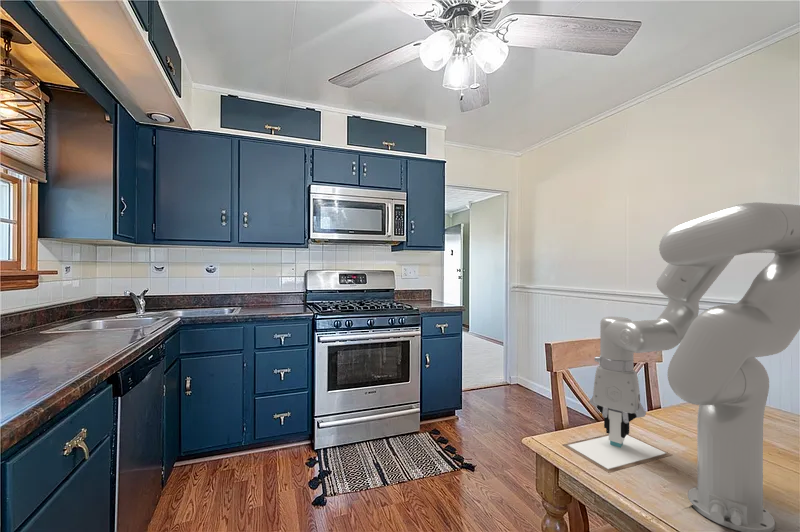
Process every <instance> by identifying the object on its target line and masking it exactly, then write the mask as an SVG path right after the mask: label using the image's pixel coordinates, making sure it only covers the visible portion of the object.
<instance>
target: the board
mask: <svg viewBox="0 0 800 532" xmlns="http://www.w3.org/2000/svg"><path fill="white" fill-rule="evenodd" d="M628 435H629V436H631V437H633V438H635V439H637V440H639V441H641V442H644V443H646V444H648V445H650V446H652V447H654V448H657V449H659V450H661V451H663V452H665V453H666V454H663V455H660V456H656V457H652V458H649V459H645V460H642V461H638V462H634V463H631V464H627V465H623V466H620V467H616V468H612V469H609V470H608V469H606V468H604V467H603V466H601V465H599V464H598V463H596V462H594V461H593V460H591V459H589V458H587V457H586V456H584V455H582V454H581V453H579V452H577V451H576V450H574V449H572V448H571V447H569V446H568V445H570V444H574V443H579V442H583V441H587V440H592V439H596V438H601V437H605V436H609V434H608V433H606V434H603V435H599V436H595V437H590V438H586V439H581V440H577V441H572V442H568V443H564V444H562V446H563V447H564V448H566V449H568V450H569V451H571V452H573V453H575V455H578V456H579V457H581V458H583V459H584V460H586V461H588V462H590V463H591V464H593V465H594V466H596V467H598V468H600V469H601V470H603V471H604V472H607V473H608V474H610V473H614V472H617V471H621V470H625V469H629V468H632V467H636V466H639V465H642V464H647V463H649V462H653V461H656V460H660V459H664V458H668V457H672V456H673V454H672V453H670V452H668V451H665V450H664V449H661V448H659V447H657V446H655V445H652V444H650V443H648V442H646V441H645V440H641V439H640V438H637V437H635V436H632V435H631V434H630V433H629V434H628Z"/></svg>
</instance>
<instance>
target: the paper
mask: <svg viewBox="0 0 800 532" xmlns="http://www.w3.org/2000/svg"><path fill="white" fill-rule="evenodd" d="M629 435H630V434H629ZM629 435H626V436H625V440H624V441H623V445H622V446H621V448H620V447H616V446H613V445H610V440H609V436H605V437H601V438H596V439H592V440H587V441H583V442H579V443H574V444H570V445H568V446H569V447H571V448H572V449H574V450H576V451H577V452H579V453H581V454H582V455H584V456H586V457H587V458H589V459H591V460H593V461H594V462H596V463H598V464H599V465H601V466H603V467H604V468H606V469H608V470H609V469H612V468H616V467H620V466H623V465H627V464H631V463H634V462H638V461H642V460H645V459H649V458H652V457H656V456H660V455H663V454H666V453H665V452H663V451H664V450H663V451H661V450H662V449H661V450H659V449H660V448H659V449H657V448H658V447H657V448H654V447H652V446H650V445H651V444H650V445H648V444H649V443H648V444H646V443H647V442H646V443H644V442H645V441H644V442H641V441H639V440H637V439H638V438H637V439H635V438H636V437H635V438H633V437H634V436H633V437H631V436H632V435H631V436H629Z"/></svg>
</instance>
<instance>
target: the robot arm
mask: <svg viewBox="0 0 800 532" xmlns="http://www.w3.org/2000/svg"><path fill="white" fill-rule="evenodd" d="M658 247H659V248H658V251H659V254H660V256H661V258H662V260H663V261H665V262H666V263H667V266H666V267H665V268H664V270H663V271H662V273H661V274H660V275H659V277H658V278H657V280H656V287H657V290H659V292H660V293H661V294H662V295H664V296H665V297H666V298H667V299H668V303H667V304H666V307H665V308H664V310H663V311H662V313H660V315H659V316H658V317H657V318H656V319H647V320H635V321H633V320H632V319H630V318H626V317H622V316H605V317H603V318H601V320H600V323H599V324H600V328H599V330H600V334H599V335H600V343H599V344H600V347H599V349H600V355H599V356H594V362H597V363H598V364H599V366H598V365H597V367H596V370H595V376H594V383H593V393H592V394H593V395H592V397H591V398H590V400H589V404H590V405H592V406H593V407H595V408H596V409H597V410H598V412H600V414H601V415H602V417H603V427H604V429H605V434H609V433H610V419H609V408H610V409H614V410H618V411H622V412H623V419H622V423H621V437H622V438H625V436H626V435H628V434H629V435H630V422H631V421H633V420H635V419H637V418H644V417H645V416H646V415H647V413H646V411H645V409H644V406H643V404H642V403H641V393H640V384H639V378H638V374H637V371H636V370H634V368H635V367H634V359H635V357H634V353H635V354H643V353H652V352H662V351H663V352H664V351H669V350H672V349H674V348H676V347H677V348H676V350H675V352H674V354H673V355H672V357H671V359H670V361H669V364H668V367H667V381H668V385H669V386H670V388H671V390H672V391H673V393H674V394H675V395H676V396H677V397H679V399H681V400H683V401H684V402H687V403H689V404H691V405H697V406H698V410H697V429H696V430H697V439H696V441H697V442H696V443H697V448H696V450H697V454H696V455H697V467H696V469H697V486H695V487H692V488H690V489H689V490H688V491H687V498H688V500H689V502H690V503H691V507H692V508H693V509H695V511H697V513H699V514H700V515H702V516H704V517H706V518H707V519H709V520H710V521H712V522H715V524H718V525H721V526H723V527H726V528H727V529H730V530H735V531H737V532H773V531H774V530H775V529H776V521H775V519H774V517H773V515H772V514H771V513H770V512H769V511H768V510H767V509H765V508H764V459H763V458H764V420H765V419H764V418H765V409H766V405H767V401H768V396H769V391H770V378H769V374H768V371H767V369H766V368H765V366H764V365H763V363H761V361H759V360H758V358H761V357H767V356H773V355H778V354H779V353H782V352H784V351H785V350H786V349H787V348H788V347H789V345H791V343H792V341H793V340H794V339H795V337H796V335H797V334H798V333H799V331H800V205H799V204H794V203H793V204H792V203H791V204H790V203H789V204H788V203H774V202H772V203H771V202H747V203H746V202H745V203H741V204H736V205H732V206H729V207H727V208H724V209H720V210H716V211H714V212H712V213H708V214H705V215H702V216H700V217H697V218H694V219H690V220H687V221H685V222H682V223H679V224H677V225H675V226H673V227H671V228H670V229H669V230H668V231H666V232H665V233H664V234H663V236H662V238H661V240H660V241H659V245H658ZM757 253H758V254H774V257H773V259H772V260H771V261H770V262H769V263H768V264H767V265H766V266H764V267H763V268H762V270H761V271H759V272H758V274H757V275H756V276H755V277H754V278H753V281H752V282H751V284H750V286H749V288H748V289H747V291H746V292H745V293H744V294H743V296H742V298H740V300H739V301H738V302H736V303H733V304H721V305H720V304H719V305H716V306H711V307H710V308H708V309H705V310H704V311H702V312H701V313H700V314H699V311H700V306H699V305H700V304H699V302H700V300H701V299H702V298H703V296H705V294H706V293H707V291H708V290H709V289H710V288H711V286H712V285H713V283H714V282H716V281H717V279H718V277H720V275H721V273H722V272H724V270H725V269H726V268H727V266H729V264H730V262H731V261H732V260H733V259H734V257H735V256H739V255H744V254H745V255H746V254H757Z"/></svg>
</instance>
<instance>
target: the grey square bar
mask: <svg viewBox="0 0 800 532" xmlns="http://www.w3.org/2000/svg"><path fill="white" fill-rule="evenodd" d="M609 419H610V433H609V440H610V445H613V446H616V447H620V448H621V446H622V445H623V441H624V440H625V438H622V437H621V423H622V419H623V412H622V411H618V410H614V409H610V408H609Z"/></svg>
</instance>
